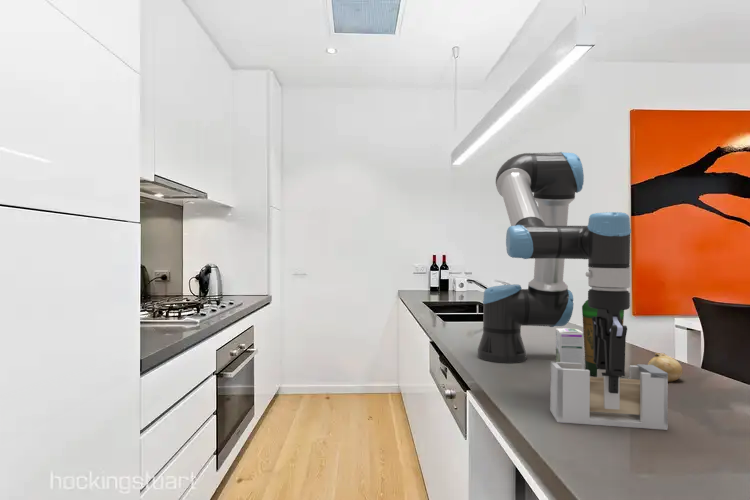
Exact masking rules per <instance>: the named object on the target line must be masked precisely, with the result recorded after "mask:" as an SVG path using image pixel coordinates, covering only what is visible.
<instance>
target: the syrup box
mask: <svg viewBox="0 0 750 500" xmlns="http://www.w3.org/2000/svg"><path fill="white" fill-rule="evenodd" d="M555 362H570V363H581V364H582V369H584V370H585V351H584V333H583V331H581V330H580V329H578V328H571V327H561V328H560V327H559V328H557V327H555Z"/></svg>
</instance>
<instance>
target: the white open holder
mask: <svg viewBox="0 0 750 500" xmlns="http://www.w3.org/2000/svg"><path fill="white" fill-rule="evenodd" d="M549 376H550V386H549V388H550V391H549V393H550V396H549V397H550V399H549V401H550V402H549V404H550V405H549V407H550V408H549V411H550V412H551V414H552V416H553V418H554V420H555V421H556V422H557V423H563V424H577V425H579V424H580V425H593V426H604V427H620V428H622V427H623V428H634V429H651V430H661V431H663V430H665V431H668V429H669V428H668V427H669V426H668V421H669V419H668V417H669V416H668V415H669V413H668V409H669V407H668V406H669V405H668V404H669V400H668V399H669V395H668V394H669V392H668V391H669V388H668V387H669V385H668V383H669V382H668V373H666V372H664V371H663V370H661V369H659V368H657V367H655V366H654V365H648V364H644V363H643V364H640V363H639V364H638V363H637V364H636V365H632V364H631V365H628V379H640V415H637V414H622V413H607V412H592V411H590V377H591V375H590V371H589V370H585V368H584V369H582V364H581V363H570V362H556V361H550V375H549Z"/></svg>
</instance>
